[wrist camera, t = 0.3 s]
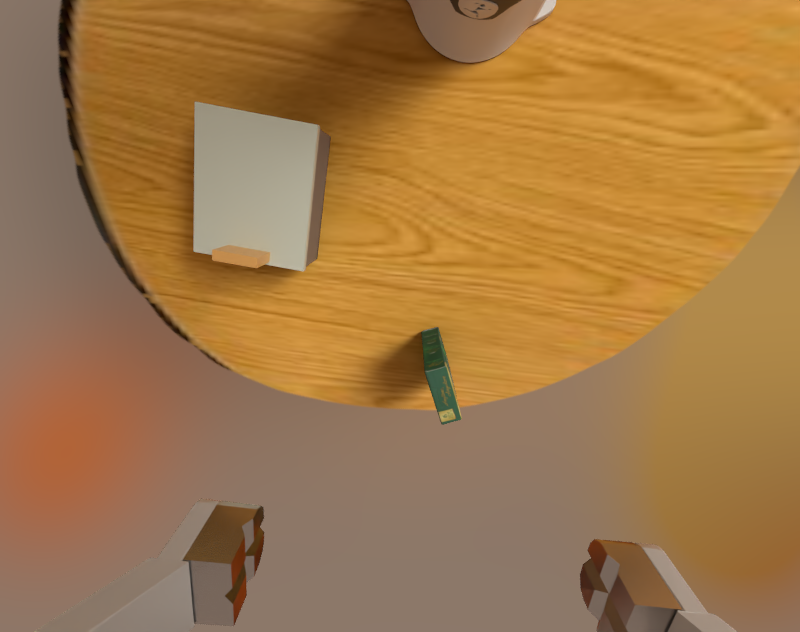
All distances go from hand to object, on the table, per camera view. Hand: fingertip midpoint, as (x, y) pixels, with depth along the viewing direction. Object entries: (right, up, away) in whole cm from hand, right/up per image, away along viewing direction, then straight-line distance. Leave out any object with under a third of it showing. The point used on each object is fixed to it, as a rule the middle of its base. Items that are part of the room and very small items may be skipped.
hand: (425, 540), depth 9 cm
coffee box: (+5, 0, +49) cm, 49 cm away
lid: (-18, +20, +35) cm, 44 cm away
